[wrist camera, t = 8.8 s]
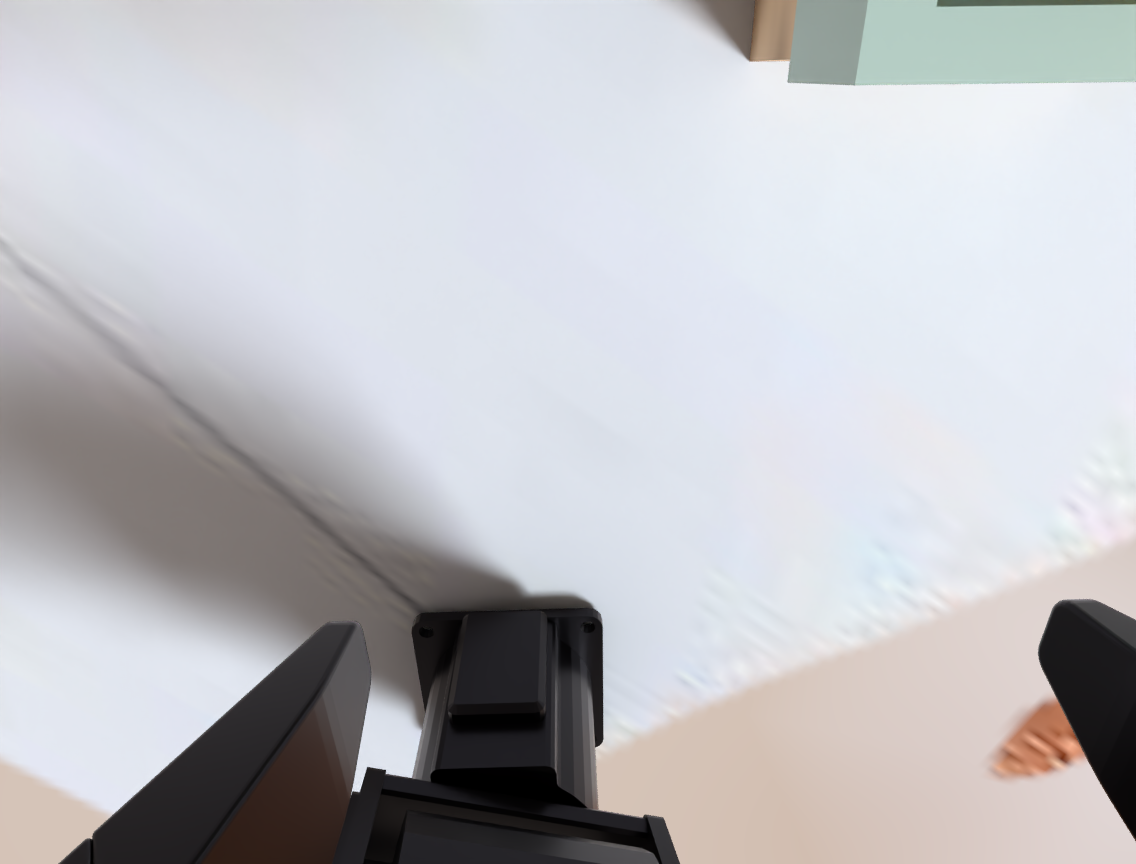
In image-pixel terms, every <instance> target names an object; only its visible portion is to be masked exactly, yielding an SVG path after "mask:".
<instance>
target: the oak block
mask: <svg viewBox="0 0 1136 864" xmlns="http://www.w3.org/2000/svg"><path fill="white" fill-rule="evenodd" d="M796 5H797V0H755V9H754V20H753V31H752V41H751V52H750V62H752V61H790V57H791V48H792V40H793V31H794V22H795V14H796Z"/></svg>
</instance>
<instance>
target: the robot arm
mask: <svg viewBox="0 0 1136 864" xmlns="http://www.w3.org/2000/svg"><path fill="white" fill-rule="evenodd" d="M584 622H592V624H590V625H584V624H583V623H584ZM425 626H426V627H430V628H432V629H430V630H428V629H424V628H423V627H425ZM412 637H413V643H414V649H415V655H416V661H417V667H418V673H419V679H420V685H421V690H422V696H423V702H424V708H425V718H424V723H423V728H422V733H421V738H420V742H419V747H418V752H417V757H416V762H415V766H414V771H413V776H412V778H408V777H402V776H396V775H390V774H386V770H382V769H376V768H370V767H367V770H366V773H365V777H364V780H363V784H362V787H361V790H360V792H354V791H353V792H352V787H353V782H354V776H355V771H356V765H357V759H358V754H359V748H360V742H361V737H362V731H363V725H364V720H365V714H366V708H367V703H368V697H369V691H370V685H371V667H370V662H369V657H368V653H367V648H366V643H365V638H364V634H363V629H362V627H361V625H360V624H359V623H358V622H356V621H335V622H328V623H326V624H325V625H323V626H322V627H321V628H320V629H319V630H317V631H316V632H315V633H314V634H313V635H312V636H311V637H310V638H309V639H307V640H306V641H305V642H304V643H303V644H302V645H301V646H300V647H299V648H297V649H296V650H295V651H294V652H293V653H292V654H291V655H290V656H289V657H288V658H286V659H285V660H284V661H283V662H282V663H281V664H280V665H279V666H278V667H276V668H275V669H274V670H273V671H272V672H271V673H270V674H269V675H268V676H266V677H265V678H264V679H263V680H262V681H261V682H260V683H259V684H258V685H256V686H255V687H254V688H253V689H252V690H251V691H250V692H249V693H248V694H246V695H245V696H244V697H243V698H242V699H241V700H240V701H239V702H238V703H236V704H235V705H234V706H233V707H232V708H231V709H230V710H229V711H228V712H226V713H225V714H224V715H223V716H222V717H221V718H220V719H219V720H218V721H216V722H215V723H214V724H213V725H212V726H211V727H210V728H209V729H208V730H206V731H205V732H204V733H203V734H202V735H201V736H200V737H199V738H198V739H197V740H195V741H194V742H193V743H192V744H191V745H190V746H189V747H188V748H187V749H185V750H184V751H183V752H182V753H181V754H180V755H179V756H178V757H177V758H175V759H174V760H173V761H172V762H171V763H170V764H169V765H168V766H167V767H165V768H164V769H163V770H162V771H161V772H160V773H159V774H158V775H157V776H155V777H154V778H153V779H152V780H151V781H150V782H149V783H148V784H147V785H145V786H144V787H143V788H142V789H141V790H140V791H139V792H138V793H137V794H135V795H134V796H133V797H132V798H131V799H130V800H129V801H128V802H127V803H125V804H124V805H123V806H122V807H121V808H120V809H119V810H118V811H117V812H115V813H114V814H113V815H112V816H111V817H110V818H109V819H108V820H107V821H106V822H104V823H103V824H102V825H101V826H100V827H99V828H98V829H97V830H96V831H95V832H94V833H93V836H92V839H90V838H89V839H85V840H84V841H83V842H82V843H81V844H80V845H79V846H77V847H76V848H75V849H74V850H73V851H72V852H71V853H70V854H69V855H68V856H66V857H65V858H64V859H63V860H62V861H61V862H60V863H59V864H680V862H679V860H678V857H677V854H676V851H675V849H674V846H673V843H672V840H671V837H670V834H669V832H668V829H667V826H666V823H665V820H664V818H663V817H657V816H651V815H644V817H643V818H642V817H637V816H631V815H624V814H619V813H613V812H607V811H601V810H598V794H597V774H596V756H595V747H597V746H599V745H600V744H601V743H602V742H603V627H602V618H601V614H600V613H599V612H598V611H596V610H594V609H591V608H573V609H539V610H505V611H471V612H437V613H423V614H420V615H418V616H417V617H416V618H415V620H414V623H413V627H412ZM1038 656H1039V661H1040V665H1041V667H1042V670H1043V672H1044V674H1045V675H1046V678H1047V679H1048V681H1049V684H1050V685H1051V688H1052V690H1053V692H1054V694H1055V696H1056V698H1057V700H1058V702H1059V704H1060V706H1061V708H1062V710H1063V712H1064V714H1065V716H1066V718H1067V720H1068V722H1069V724H1070V726H1071V728H1072V730H1073V732H1074V734H1075V736H1076V738H1077V740H1078V742H1079V744H1080V746H1081V748H1082V750H1083V752H1084V754H1085V756H1086V758H1087V760H1088V762H1089V764H1090V765H1091V767H1092V769H1093V771H1094V773H1095V775H1096V776H1097V778H1098V780H1099V782H1100V784H1101V785H1102V787H1103V789H1104V790H1105V792H1106V794H1107V796H1108V797H1109V799H1110V801H1111V802H1112V804H1113V805H1114V807H1115V809H1116V810H1117V812H1118V813H1119V815H1120V817H1121V818H1122V819H1123V821H1124V823H1125V824H1126V826H1127V828H1128V829H1129V831H1130V833H1131V834H1132V836H1133V838H1134V839H1135V841H1136V620H1135V619H1133V618H1131V617H1129V616H1127V615H1125V614H1123V613H1121V612H1119V611H1116V610H1114V609H1113V608H1111V607H1108V606H1107V605H1105V604H1103V603H1101V602H1098V601H1096V600H1091V599H1074V600H1062V601H1059V602H1058V603H1057V604H1055V606H1054V607H1053V609H1052V611H1051V614H1050V617H1049V620H1048V622H1047V625H1046V628H1045V631H1044V633H1043V636H1042V639H1041V641H1040V644H1039V649H1038ZM351 792H352V795H351ZM350 797H351V798H350Z"/></svg>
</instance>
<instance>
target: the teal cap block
mask: <svg viewBox="0 0 1136 864" xmlns="http://www.w3.org/2000/svg"><path fill="white" fill-rule="evenodd" d="M1079 82H1136V0H797V5H796V14H795V22H794V31H793V40H792V48H791V57H790V65H789V74H788V83H811V84H836V85H916V84H997V83H1079Z"/></svg>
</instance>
